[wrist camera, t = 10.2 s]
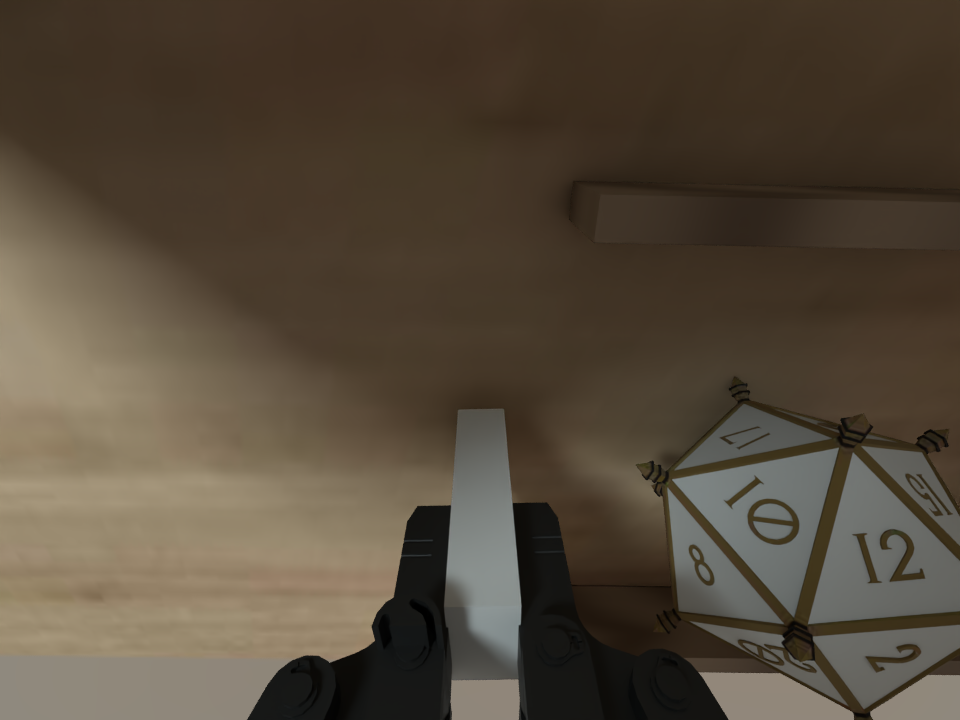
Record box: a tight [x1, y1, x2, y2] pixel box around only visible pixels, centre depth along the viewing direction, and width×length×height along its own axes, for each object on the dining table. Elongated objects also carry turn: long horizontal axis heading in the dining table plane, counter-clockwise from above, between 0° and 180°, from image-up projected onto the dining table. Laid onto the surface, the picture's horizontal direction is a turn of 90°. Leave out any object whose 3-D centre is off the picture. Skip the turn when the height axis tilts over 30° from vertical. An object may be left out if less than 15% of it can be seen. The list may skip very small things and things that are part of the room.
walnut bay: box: [569, 181, 960, 675], centre depth 15 cm, size 19×18×3 cm
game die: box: [635, 377, 960, 720], centre depth 12 cm, size 9×8×10 cm
